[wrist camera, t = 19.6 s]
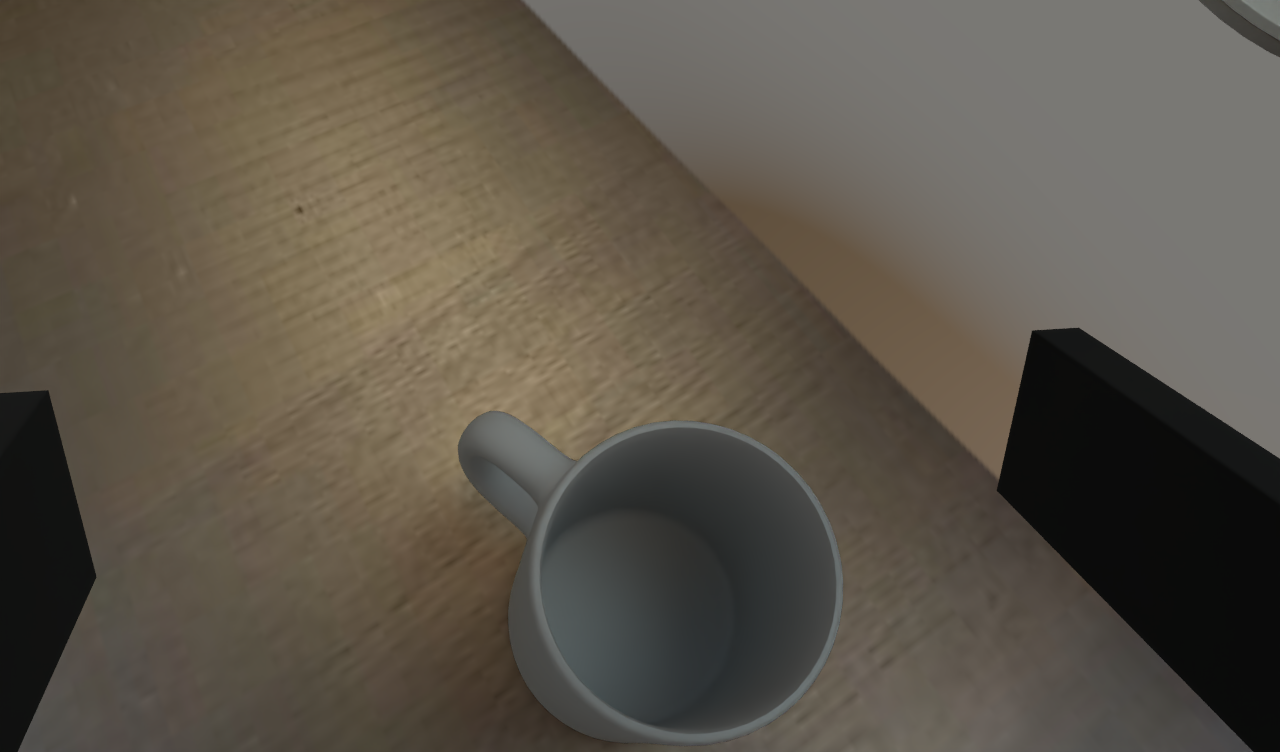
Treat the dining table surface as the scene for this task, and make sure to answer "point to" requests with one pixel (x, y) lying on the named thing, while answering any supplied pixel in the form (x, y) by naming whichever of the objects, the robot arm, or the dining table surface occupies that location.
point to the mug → (661, 578)
